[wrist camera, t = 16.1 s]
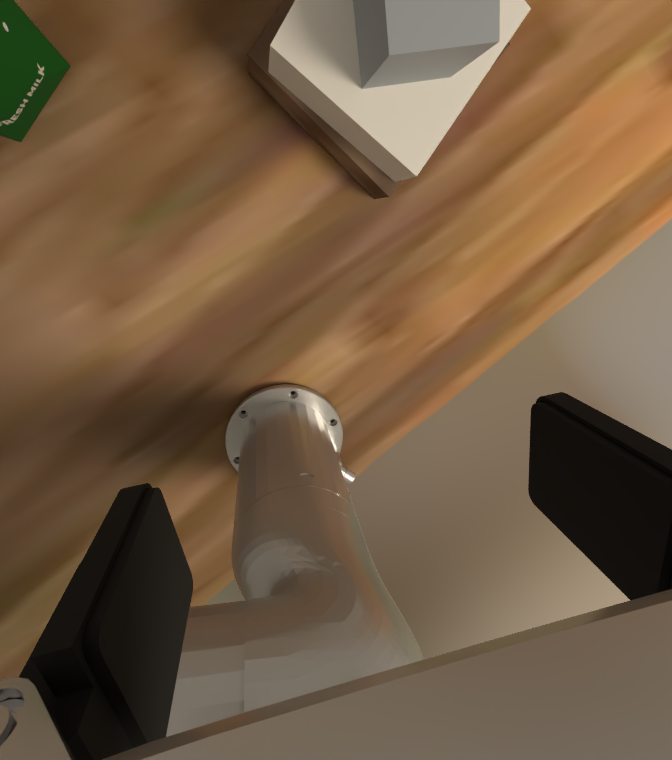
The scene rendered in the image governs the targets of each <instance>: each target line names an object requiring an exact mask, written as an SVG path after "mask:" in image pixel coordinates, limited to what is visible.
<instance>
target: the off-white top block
mask: <svg viewBox="0 0 672 760" xmlns="http://www.w3.org/2000/svg"><path fill="white" fill-rule="evenodd" d="M530 9H531V8H530V7H529V5H528V4H527V3H526V2H525V0H500V38H499V42H498V43H497V44H496V45H494V46H493V47H491V48H490V49H489V50H487V51H486V52H485V53H483V54H482V55H480V56H479V57H478V58H476V59H475V60H474V61H472V62H471V63H469V64H468V65H467V66H465V67H464V68H463V69H461V70H460V71H458V72H457V73H456V74H454V75H453V76H451V77H449V78H441V79H434V80H426V81H419V82H411V83H404V84H396V85H388V86H381V87H373V88H366V89H362V84H361V75H360V65H359V55H358V45H357V36H356V26H355V16H354V6H353V0H295V1H294V3H293V5H292V7H291V9H290V10H289V12H288V14H287V16H286V18H285V19H284V21H283V23H282V25H281V27H280V28H279V30H278V32H277V34H276V36H275V37H274V39H273V41H272V43H271V45H270V54H269V68H268V72H269V73H270V74H271V75H272V76H273V77H274V78H276V79H277V80H278V81H279V82H280V83H281V84H282V85H284V86H285V87H286V88H287V89H288V90H289V91H291V92H292V93H293V94H294V95H295V96H296V97H297V98H299V99H300V100H301V101H302V102H303V103H304V104H306V105H307V106H308V107H309V108H310V109H311V110H312V111H314V112H315V113H316V114H317V115H318V116H319V117H321V118H322V119H323V120H324V121H325V122H326V123H327V124H329V125H330V126H331V127H332V128H333V129H334V130H336V131H337V132H338V133H339V134H340V135H341V136H342V137H344V138H345V139H346V140H347V141H348V142H349V143H351V144H352V145H353V146H354V147H355V148H356V149H357V150H359V151H360V152H361V153H362V154H363V155H364V156H366V157H367V158H368V159H369V160H370V161H371V162H372V163H374V164H375V165H376V166H377V167H378V168H379V169H381V170H382V171H383V172H384V173H385V174H386V175H387V176H389V177H390V178H391V179H392V180H393V181H394V182H397V181H401V180H405V179H409V178H413V177H417V175H418V174H419V172H420V171H421V169H422V168H423V166H424V165H425V164H426V162H427V161H428V159H429V158H430V156H431V155H432V153H433V152H434V150H435V149H436V147H437V146H438V144H439V143H440V141H441V140H442V139H443V137H444V136H445V134H446V133H447V131H448V130H449V128H450V127H451V125H452V124H453V122H454V121H455V119H456V118H457V116H458V115H459V114H460V112H461V111H462V109H463V108H464V106H465V105H466V103H467V102H468V100H469V99H470V97H471V96H472V94H473V93H474V92H475V90H476V89H477V87H478V86H479V84H480V83H481V81H482V80H483V78H484V77H485V75H486V74H487V72H488V71H489V69H490V68H491V67H492V65H493V64H494V62H495V61H496V59H497V58H498V56H499V55H500V53H501V52H502V50H503V49H504V47H505V46H506V44H507V43H508V42H509V40H510V39H511V37H512V36H513V34H514V33H515V31H516V30H517V28H518V27H519V25H520V24H521V22H522V21H523V19H524V18H525V17H526V15H527V14H528V12H529V11H530Z"/></svg>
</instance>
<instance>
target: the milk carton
mask: <svg viewBox="0 0 672 760" xmlns="http://www.w3.org/2000/svg"><path fill="white" fill-rule="evenodd" d="M69 67H70V65H69V64H68V63H67V61H66V60H65V59H64V58H63V57H62V56H61V55H60V53H59V52H58V51H57V50H56V49H55V48H54V47H53V45H52V44H51V43H50V42H49V41H48V40H47V38H46V37H45V36H44V35H43V34H42V33H41V32H40V30H39V29H38V28H37V27H36V26H35V25H34V24H33V22H32V21H31V20H30V19H29V18H28V16H27V15H26V14H25V13H24V12H23V11H22V9H21V8H20V7H19V6H18V5H17V4H16V3H15V1H14V0H0V135H1V136H4V137H7V138H10V139H13V140H16V141H19V142H21V141H22V139H23V138H24V136H25V135H26V133H27V132H28V130H29V129H30V127H31V126H32V124H33V123H34V121H35V120H36V118H37V116H38V115H39V113H40V112H41V110H42V109H43V107H44V106H45V104H46V103H47V101H48V100H49V98H50V96H51V95H52V93H53V92H54V90H55V89H56V87H57V86H58V84H59V83H60V81H61V80H62V78H63V77H64V75H65V73H66V72H67V70H68V69H69Z"/></svg>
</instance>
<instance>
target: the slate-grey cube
mask: <svg viewBox="0 0 672 760" xmlns="http://www.w3.org/2000/svg"><path fill="white" fill-rule="evenodd" d="M353 6H354V16H355V26H356V36H357V45H358V55H359V65H360V75H361V84H362V89H366V88H373V87H381V86H388V85H396V84H404V83H411V82H419V81H426V80H434V79H441V78H449V77H451V76H453V75H454V74H456V73H457V72H458V71H460V70H461V69H463V68H464V67H465V66H467V65H468V64H469V63H471V62H472V61H474V60H475V59H476V58H478V57H479V56H480V55H482V54H483V53H485V52H486V51H487V50H489V49H490V48H491V47H493V46H494V45H496V44H497V43H498V42H499V38H500V0H353Z"/></svg>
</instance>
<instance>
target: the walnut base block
mask: <svg viewBox="0 0 672 760" xmlns="http://www.w3.org/2000/svg"><path fill="white" fill-rule="evenodd" d="M294 1H295V0H283V2H282V3H281V5H280V6H279V8H278V9H277V11H276V12H275V14H274V15H273V17H272V18H271V20H270V21H269V23H268V24H267V26H266V27H265V29H264V30H263V32H262V33H261V35H260V36H259V38H258V39H257V41H256V42H255V44H254V45H253V47H252V48H251V50H250V51H249V53H248V69H249V75H250V76H251V77H252V78H253V79H254V80H255V81H256V82H257V83H258V84H259V85H260V86H261V87H262V88H263V89H264V90H265V91H266V92H267V93H268V94H269V95H270V96H271V97H272V98H273V99H274V100H275V101H276V102H277V103H278V104H279V105H280V106H281V107H282V108H283V109H284V110H285V111H286V112H287V113H288V114H289V115H290V116H291V117H292V118H293V119H294V120H295V121H296V122H298V123H299V124H300V125H301V126H302V127H303V128H304V129H305V130H306V131H307V132H308V133H309V134H310V135H311V136H312V137H313V138H314V139H315V140H316V141H317V142H318V143H319V144H320V145H321V146H322V147H323V148H324V149H325V150H326V151H327V152H328V153H329V154H330V155H331V156H332V157H333V158H334V159H335V160H336V161H337V162H338V163H339V164H340V165H341V166H342V167H343V168H344V169H345V170H346V171H347V172H348V173H349V174H350V175H351V176H352V177H353V178H354V179H355V180H356V181H357V182H358V183H359V184H360V185H361V186H362V187H363V188H364V189H365V190H366V191H367V192H368V193H369V194H370V195H371V196H372V197H373V198H374V199H377V198H384V197H389V196H390V195H391V194H392V192H393V191H394V190H395V189H396V187H397V186H398V185H399V183H400V182H401V181H402V180H401V181H397V182H394V181H393V180H392V179H391V178H390V177H389V176H387V175H386V174H385V173H384V172H383V171H382V170H381V169H379V168H378V167H377V166H376V165H375V164H374V163H372V162H371V161H370V160H369V159H368V158H367V157H366V156H364V155H363V154H362V153H361V152H360V151H359V150H357V149H356V148H355V147H354V146H353V145H352V144H351V143H349V142H348V141H347V140H346V139H345V138H344V137H342V136H341V135H340V134H339V133H338V132H337V131H336V130H334V129H333V128H332V127H331V126H330V125H329V124H327V123H326V122H325V121H324V120H323V119H322V118H321V117H319V116H318V115H317V114H316V113H315V112H314V111H312V110H311V109H310V108H309V107H308V106H307V105H306V104H304V103H303V102H302V101H301V100H300V99H299V98H297V97H296V96H295V95H294V94H293V93H292V92H291V91H289V90H288V89H287V88H286V87H285V86H284V85H282V84H281V83H280V82H279V81H278V80H277V79H276V78H274V77H273V76H272V75H271V74H270V73H269V72H268V68H269V54H270V45H271V43H272V41H273V39H274V37H275V36H276V34H277V32H278V30H279V28H280V27H281V25H282V23H283V21H284V19H285V18H286V16H287V14H288V12H289V10H290V9H291V7H292V5H293V3H294ZM509 44H510V43H509V42H508V43H507V44H506V46H505V47H504V49H503V50H502V52H501V53H500V55H499V56H498V58H499V57H500V56H501V54H502V53H503V52H504V51H505V49H506V48H507V47H508V46H509ZM498 58H497V59H498ZM497 59H496V61H497ZM496 61H495V62H496ZM495 62H494V63H495ZM493 65H494V64H493ZM493 65H492V66H493ZM489 70H490V69H489Z"/></svg>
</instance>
